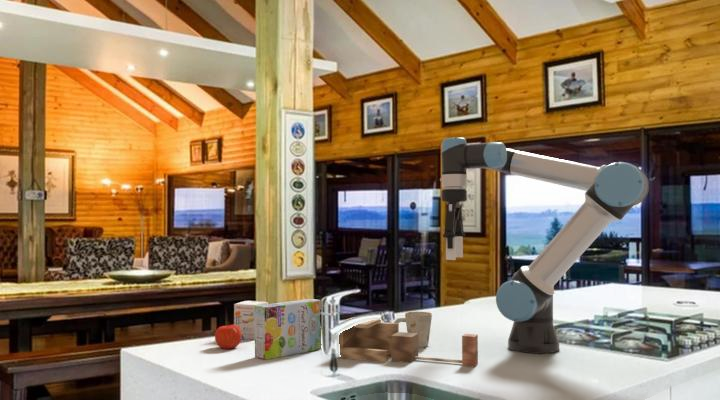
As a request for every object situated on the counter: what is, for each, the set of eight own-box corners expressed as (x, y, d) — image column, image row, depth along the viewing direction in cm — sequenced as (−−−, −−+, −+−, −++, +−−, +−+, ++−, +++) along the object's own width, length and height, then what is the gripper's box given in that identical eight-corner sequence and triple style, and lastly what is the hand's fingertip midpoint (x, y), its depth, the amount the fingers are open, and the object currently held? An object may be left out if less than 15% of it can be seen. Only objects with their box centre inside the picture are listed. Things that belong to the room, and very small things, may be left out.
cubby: (398, 354, 188) (398, 320, 188) (386, 362, 178) (386, 325, 178) (352, 350, 193) (352, 317, 194) (338, 357, 183) (338, 322, 183)
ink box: (232, 338, 213) (233, 303, 213) (246, 334, 221) (246, 300, 221) (255, 340, 210) (255, 304, 210) (268, 336, 217) (268, 301, 218)
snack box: (310, 347, 199) (310, 298, 199) (322, 349, 195) (322, 299, 195) (253, 357, 184) (253, 304, 184) (265, 360, 180) (265, 306, 180)
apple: (246, 347, 198) (247, 321, 198) (225, 351, 192) (225, 324, 192) (231, 344, 203) (231, 318, 203) (209, 348, 197) (209, 321, 197)
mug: (430, 348, 196) (430, 315, 196) (389, 347, 199) (389, 314, 199) (433, 343, 204) (433, 311, 205) (393, 342, 207) (393, 310, 207)
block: (478, 363, 177) (478, 333, 177) (474, 367, 171) (473, 337, 171) (398, 356, 185) (398, 328, 186) (391, 360, 180) (391, 331, 180)
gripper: (449, 190, 209) (449, 256, 209) (433, 187, 186) (434, 260, 185) (472, 190, 207) (472, 256, 206) (459, 186, 183) (460, 261, 183)
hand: (454, 258), depth 196 cm, fingers open, 13 cm apart
